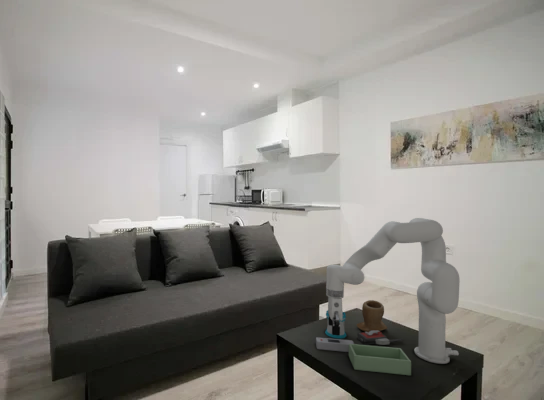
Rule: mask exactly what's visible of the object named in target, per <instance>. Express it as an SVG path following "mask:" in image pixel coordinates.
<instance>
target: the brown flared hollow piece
mask: <svg viewBox="0 0 544 400" xmlns="http://www.w3.org/2000/svg"><path fill="white" fill-rule="evenodd" d="M361 314H362V317H363V321H361V322H359V323H356V328H358V329H359V330H361V331H363V332H364V333H365V332H370V331H372V330H378V331H380V332H382V331H385V330H386V331H387V330H388V325H386V324H385V323H384V322H383V317H384V314H385V307H384V305H383V303H381V302H380V301H377V300H373V299H368V300H366V301H364V302H363V304H362V308H361Z"/></svg>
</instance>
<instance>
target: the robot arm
mask: <svg viewBox="0 0 544 400" xmlns="http://www.w3.org/2000/svg"><path fill="white" fill-rule="evenodd" d="M443 232H444V230H443V226H442V224H440V223H439V222H438V221H437V220H433V219H430V218H429V219H428V218H423V217H415V218H412V219H410V220H409V222H399V221H387V222H386V223H385V224H383V226H382V227H380V229H379V230H377V232H376V233H375V234H374V235H373V236H372V238H370V240H369V241H368V242H367V243H366V244H364V245H363V246H362V247H361V248H359V249H358V250H356V251H355V252H354V253H352V254H351V256H350V257H348V259H347V260H346V261H345V262H344V263H343V265H340V264H328V265H327V267H326V276H325V277H326V278H325V279H326V281H325V285H326V286H325V296H326V297H327V311H328V313H329V316H330V317H329V322H328V321H327V325H328V324H329V325H330V326H332V335H340V322H339V319H340V320H341V321H342V320H343V317H342V311H343V298H344V297H345V284H348V285H355V286H358V285H361V284H362V283H363V282H364V281H365V274H364V272H363V271H362V269H363V268H364V267H365V266H367V265H368V264H369V263H371V262H373V261H378V260H381V259H383V258H384V257H386V255H387V254H388V253H389V252H390V251H391V250H392V249H393V247H394V246H396V245H397V244H414V243H420V246H421V261H420V262H421V264H420V271H421V274H422V276H423V277H424V278H426V279H428V280H429V281H425V282H422V283H421V284H420V285H418V287H417V290H416V298H417V299H416V300H417V306H418V342H417V343H418V345H417V346H416V347H414V349H413V352H414V354H415V355H416V357H418V358H420V359H421V360H424V361H427V362H429V363H433V364H439V365H445V364H448V363H450V362H451V361H450V360H451V358H450V356H455V357H457V356H459V354H460V353H459V351H458V350H453V349H452V348H451V347H446V328H447V327H446V323H447V322H446V321H447V320H446V319H447V318H446V315H449V314H452V313H454V312H455V311H456V310H457V308H458V305H459V299H460V282H461V281H460V274H459V271H458V270H457V268H456V267H455V266H454V265H453V264H451V263H448V262H447V247H446V242H445V239H444V238H443V236H442V235H443Z"/></svg>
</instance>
